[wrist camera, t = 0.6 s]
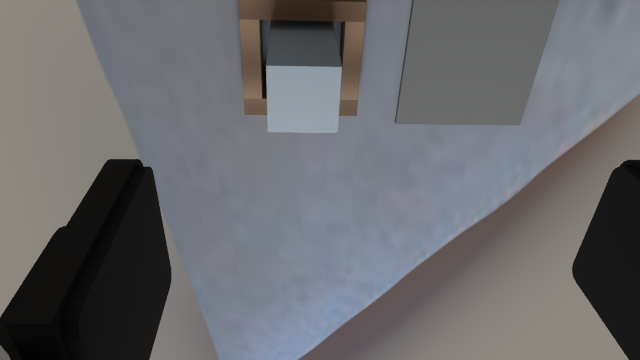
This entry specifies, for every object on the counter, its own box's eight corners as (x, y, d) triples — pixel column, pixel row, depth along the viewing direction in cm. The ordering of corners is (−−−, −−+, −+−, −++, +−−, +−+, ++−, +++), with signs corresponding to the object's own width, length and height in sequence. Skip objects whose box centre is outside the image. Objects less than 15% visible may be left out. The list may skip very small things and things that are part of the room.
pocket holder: (241, -12, 38) (238, -1, 36) (362, -9, 39) (366, 2, 36) (247, 98, 44) (245, 114, 41) (352, 100, 44) (356, 115, 42)
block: (271, 18, 40) (266, 65, 32) (332, 19, 40) (342, 67, 32) (272, 75, 43) (267, 132, 35) (329, 76, 43) (337, 132, 35)
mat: (417, -37, 38) (419, -36, 37) (566, -32, 38) (568, -31, 38) (395, 121, 46) (395, 123, 46) (518, 122, 47) (519, 124, 46)
